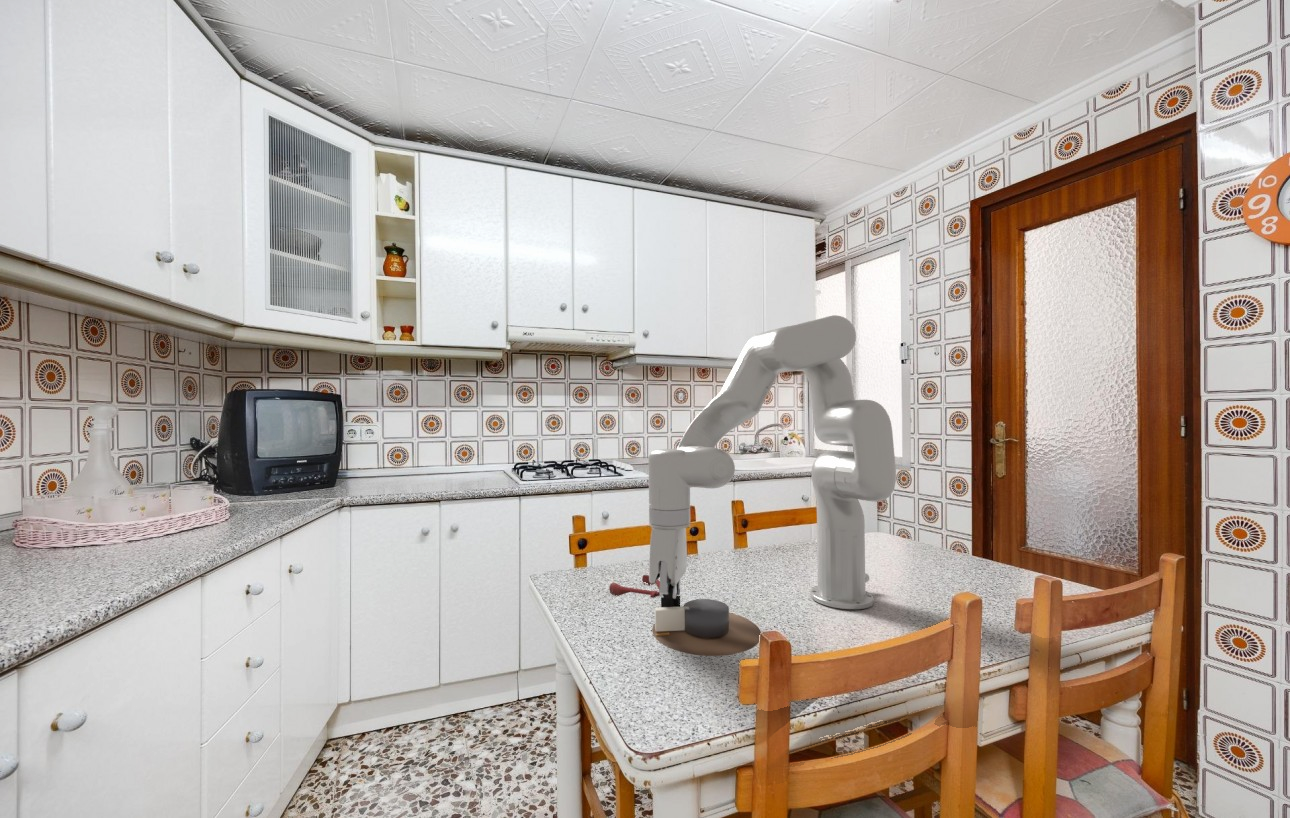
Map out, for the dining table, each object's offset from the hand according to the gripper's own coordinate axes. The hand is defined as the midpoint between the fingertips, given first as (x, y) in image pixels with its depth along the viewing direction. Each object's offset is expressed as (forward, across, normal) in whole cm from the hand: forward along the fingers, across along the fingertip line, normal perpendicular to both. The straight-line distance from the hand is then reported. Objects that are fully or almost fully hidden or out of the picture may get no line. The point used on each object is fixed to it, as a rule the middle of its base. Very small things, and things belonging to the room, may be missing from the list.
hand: (670, 618), depth 90 cm
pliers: (+3, -16, -10) cm, 19 cm away
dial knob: (+1, +1, +4) cm, 5 cm away
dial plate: (+3, 0, +6) cm, 7 cm away
